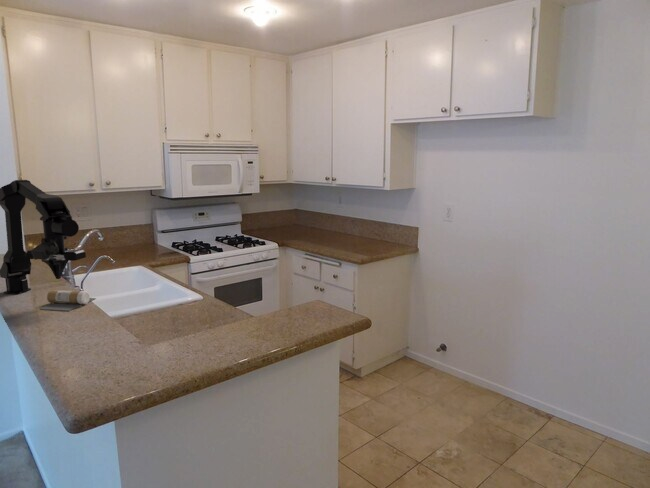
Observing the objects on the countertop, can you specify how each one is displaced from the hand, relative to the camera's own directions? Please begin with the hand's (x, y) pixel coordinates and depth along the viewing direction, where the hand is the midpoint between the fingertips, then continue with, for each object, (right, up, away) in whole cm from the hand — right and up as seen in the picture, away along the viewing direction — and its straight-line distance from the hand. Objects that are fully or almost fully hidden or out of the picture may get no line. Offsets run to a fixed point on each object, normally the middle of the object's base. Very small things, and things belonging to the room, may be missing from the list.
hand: (58, 278), depth 161 cm
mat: (+3, -9, +1) cm, 9 cm away
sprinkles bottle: (-4, -6, +2) cm, 8 cm away
